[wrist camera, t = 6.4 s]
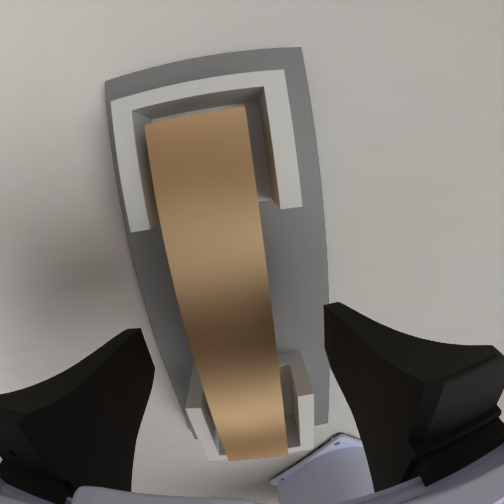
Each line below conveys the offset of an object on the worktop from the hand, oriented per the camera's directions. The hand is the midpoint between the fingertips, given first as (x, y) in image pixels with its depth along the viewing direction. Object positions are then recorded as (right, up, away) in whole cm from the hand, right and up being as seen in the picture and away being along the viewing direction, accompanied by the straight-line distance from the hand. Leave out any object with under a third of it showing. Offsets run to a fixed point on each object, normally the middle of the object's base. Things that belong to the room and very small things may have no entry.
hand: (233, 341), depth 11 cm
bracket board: (0, +2, +5) cm, 6 cm away
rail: (0, +1, +3) cm, 4 cm away
